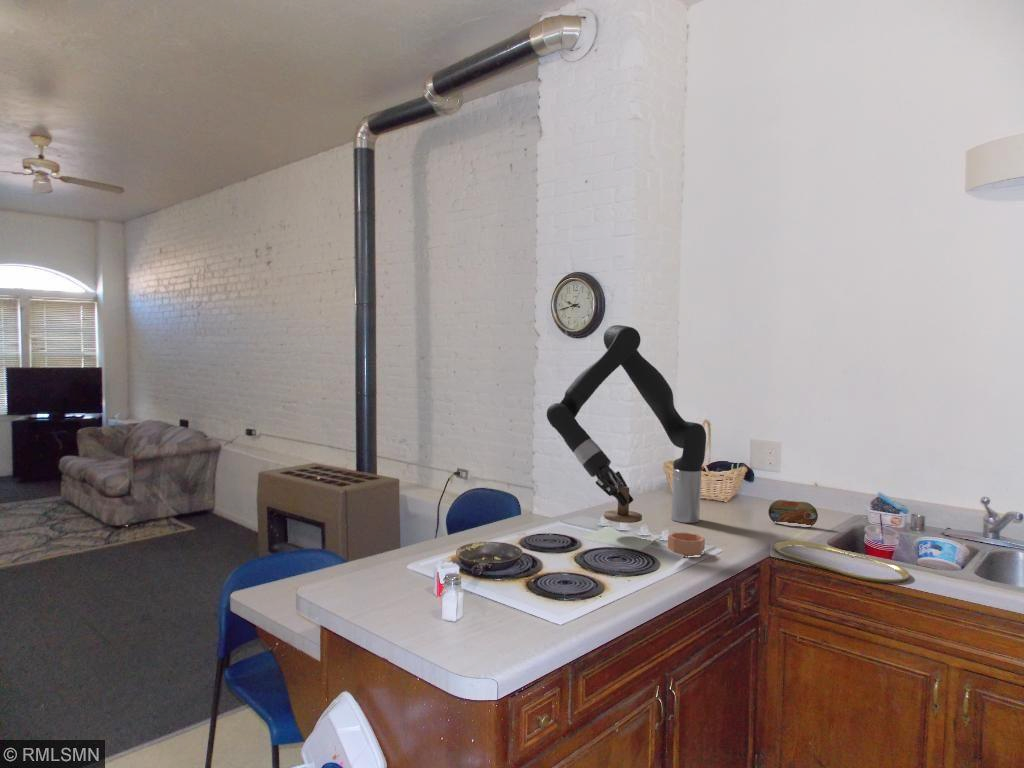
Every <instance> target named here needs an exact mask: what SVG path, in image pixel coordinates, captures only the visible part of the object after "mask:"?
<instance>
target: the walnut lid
mask: <svg viewBox="0 0 1024 768" xmlns="http://www.w3.org/2000/svg"><path fill="white" fill-rule="evenodd" d="M618 489H619V490H620V492H621V493H622V494H623V495H624V496H625V498H626V499H627V500H628V504H626V505H625V506H622V505H621V504H620V503H619V501H618V500H617V509H614V510H613V509H611V510H607V511H604V513H603V518H604V519H605V520H608V521H609V522H615V523H621V524H622V523H625V524H627V523H629V524H630V523H632V524H634V523H638V522H641V521H642V520H643V515H642V514H641V513H639V512H636V511H631V510H630V508H629V507H630V504H629V494H630V487H629V486H627V487H624V486H621V487H618ZM620 492H619V493H620Z"/></svg>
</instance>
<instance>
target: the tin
mask: <svg viewBox="0 0 1024 768" xmlns="http://www.w3.org/2000/svg"><path fill="white" fill-rule="evenodd" d="M767 512H768V517H769V519H770V520H771V521H772V522H773V523H774V522H775V521H776V522H788V523H798V524H806V525H811V527H812V526H814V525H815V524H816V523H817V522H818V519H819V516H818V511H817V509H816V507H814V505H812V504H811V503H810V502H808V501H807V502H806V501H799V500H798V501H796V500H795V501H794V500H788V499H787V500H785V499H778V500H775V501H773V502H771V504H770V505H769V508H768V511H767Z"/></svg>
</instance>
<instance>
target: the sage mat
mask: <svg viewBox="0 0 1024 768" xmlns="http://www.w3.org/2000/svg"><path fill="white" fill-rule="evenodd" d="M611 527H612V526H608V527H606V526H604V527H602V528H600V529H597V530H596V531H594V532H591V533H590V534H587V535H585V536H583V537H581V538H580V540H585V541H589V542H590V541H591V542H596V543H601V544H606V545H612V546H615V547H616V546H617V547H620V548H621V547H622V548H627V549H631V550H632V549H633V550H635V551H636V550H637V551H641V550H643V549H645V548H646V547H647V546H649V545H650V544H652V543H654V542H655V541H651V540H647V539H641V538H638V537H635V536H631V535H629V534H624V533H620V532H618V531H616V530H614V529H613V528H614V527H613V528H611ZM650 534H651V533H650ZM651 536H652V537H654V538H659V536H660V535H658V534H657V535H656V534H651ZM659 539H660V538H659Z"/></svg>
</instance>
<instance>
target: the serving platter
mask: <svg viewBox="0 0 1024 768" xmlns="http://www.w3.org/2000/svg"><path fill="white" fill-rule="evenodd" d="M788 545H803V546H812V547H817V548H821V549H820V550H822V549H826V550H832V551H835V552H836V551H837V552H840V553H844V552H845V554H848V553H851V554H849V555H852V556H859V557H863V558H868V559H870V560H873V561H875V562H877V563H882V564H885V565H887V566H890V567H892V568H894V569H895V571H894V572H896V573H898V574H899V575H900V576H901V578H890V579H889V578H879V577H871V576H865V575H860V574H856V573H852V572H848V571H846V570H845V571H844V570H841V569H838V568H836V567H832V566H829V565H825V564H822V563H819V562H816V561H813V560H809V559H806V558H802V557H799V556H796V555H793V554H790V553H787V552H784V551H782V550H781V549H783V548H788V547H787V546H788ZM773 547H774V549H775V551H776V552H777V553H779V554H780V555H782V556H784V557H786V558H789V559H792V560H795V561H799V562H801V563H805V564H808V565H811V566H815V567H818V568H820V569H824V570H827V571H831V572H833V573H836V574H840V575H843V576H846V577H849V578H853V579H858V580H862V581H866V582H874V583H875V582H876V583H883V584H884V583H885V584H892V583H901V582H902V583H903V582H904V581H906V580H907V579H909V577H910V572H909V571H908V570H906V569H905V568H903V567H901V566H898V565H896V564H894V563H890V562H888V561H883V560H880V559H876V558H872V557H868V556H866V555H862V554H859V553H855V552H851V551H848V550H844V549H840V548H837V547H833V546H830V545H825V544H821V543H816V542H809V541H801V540H800V541H797V540H785V541H779V542H776V543H775V544H774V545H773ZM817 548H816V549H817ZM826 550H825V551H826ZM841 551H842V552H841Z"/></svg>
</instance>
